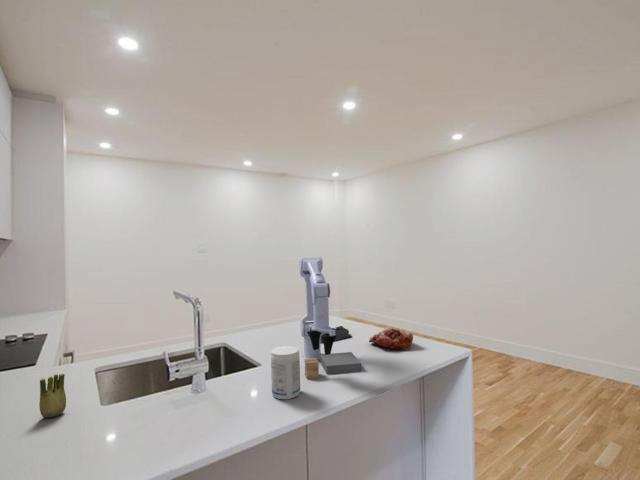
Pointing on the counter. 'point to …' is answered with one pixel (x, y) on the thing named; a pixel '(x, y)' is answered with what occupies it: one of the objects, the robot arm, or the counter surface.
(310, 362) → the oak block
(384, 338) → the meat
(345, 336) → the dark slate chunk
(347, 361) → the slate base
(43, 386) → the fennel bulb
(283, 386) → the supplement tub
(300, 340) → the counter surface
